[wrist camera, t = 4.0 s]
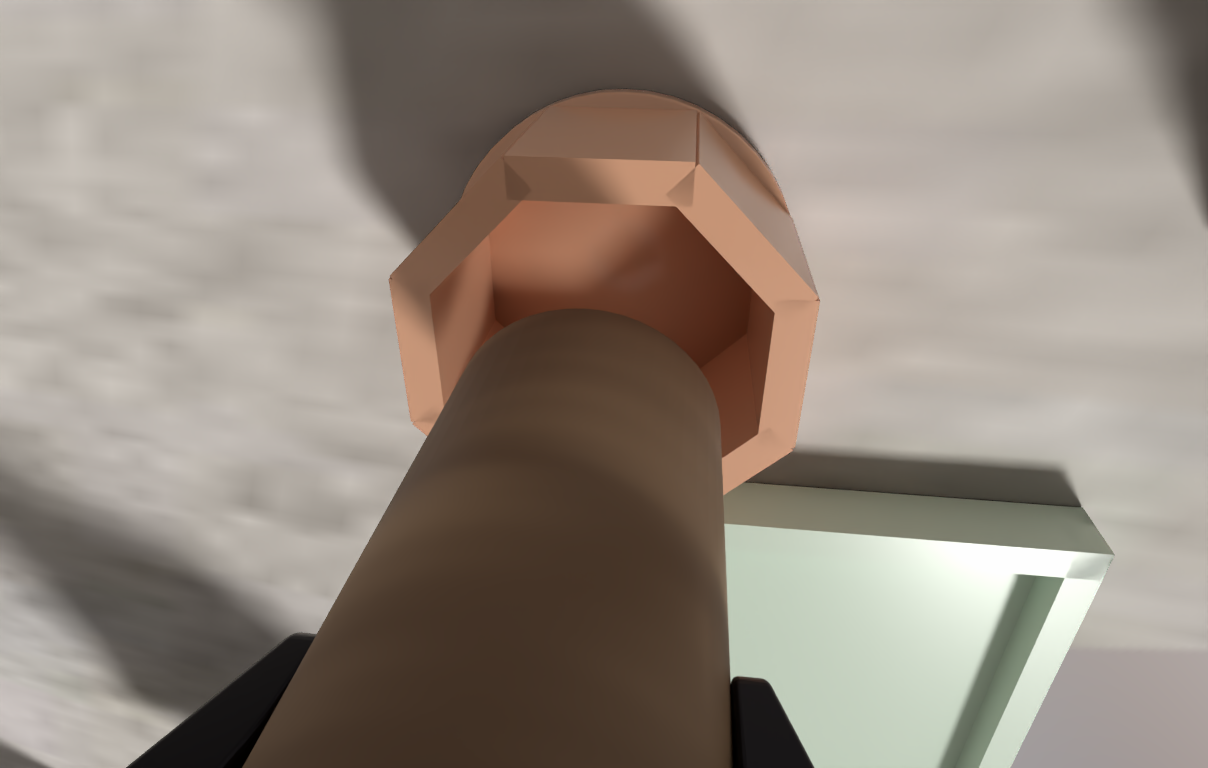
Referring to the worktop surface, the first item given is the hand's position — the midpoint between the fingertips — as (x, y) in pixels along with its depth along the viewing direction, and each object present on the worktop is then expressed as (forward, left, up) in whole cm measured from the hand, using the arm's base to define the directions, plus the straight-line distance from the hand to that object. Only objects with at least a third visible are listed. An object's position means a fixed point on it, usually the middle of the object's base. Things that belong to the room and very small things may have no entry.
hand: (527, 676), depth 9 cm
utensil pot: (0, 0, -13) cm, 13 cm away
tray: (+7, -15, -13) cm, 21 cm away
